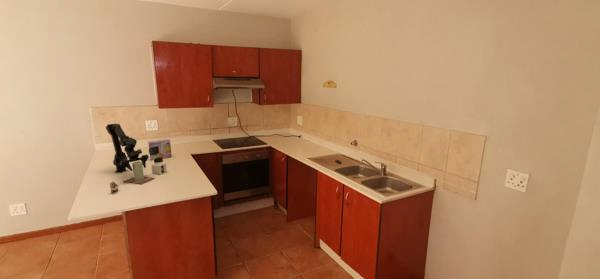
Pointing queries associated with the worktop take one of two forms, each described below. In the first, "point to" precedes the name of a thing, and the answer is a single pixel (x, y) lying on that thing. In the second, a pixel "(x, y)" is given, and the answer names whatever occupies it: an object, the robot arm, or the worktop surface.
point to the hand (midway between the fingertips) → (138, 169)
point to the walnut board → (146, 179)
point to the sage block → (138, 171)
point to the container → (158, 166)
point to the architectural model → (113, 186)
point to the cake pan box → (160, 148)
